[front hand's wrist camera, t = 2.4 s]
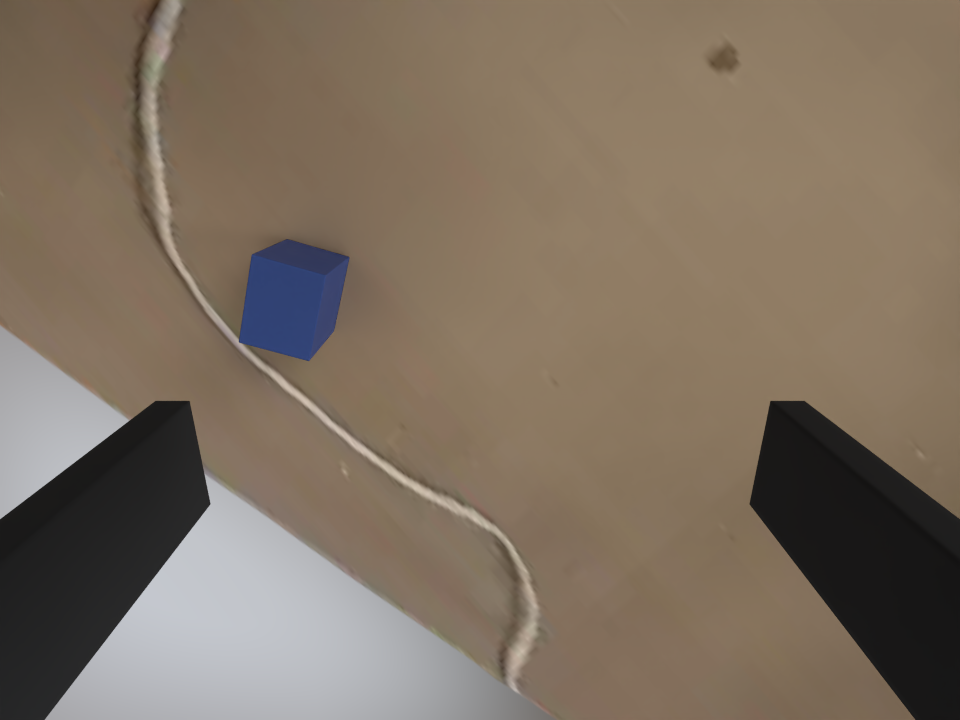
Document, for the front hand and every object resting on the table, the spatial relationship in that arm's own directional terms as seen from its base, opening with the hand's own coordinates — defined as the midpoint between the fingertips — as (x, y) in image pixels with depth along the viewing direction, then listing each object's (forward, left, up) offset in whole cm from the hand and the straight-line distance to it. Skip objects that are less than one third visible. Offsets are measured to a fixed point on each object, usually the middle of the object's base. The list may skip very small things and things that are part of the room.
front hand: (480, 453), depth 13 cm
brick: (-6, -13, -32) cm, 35 cm away
